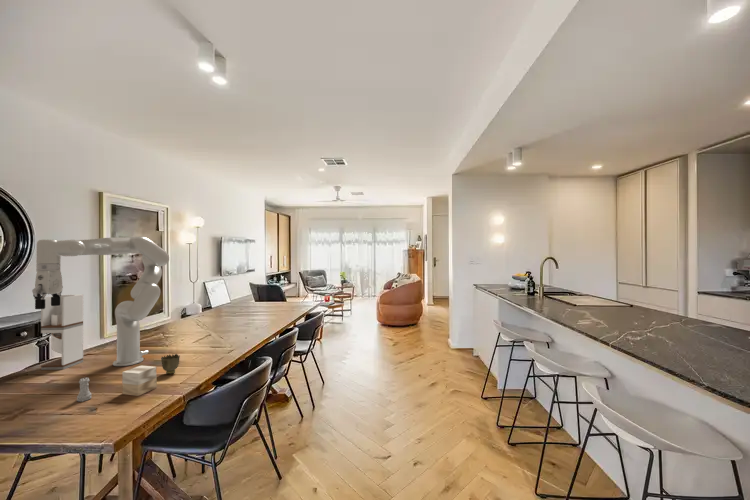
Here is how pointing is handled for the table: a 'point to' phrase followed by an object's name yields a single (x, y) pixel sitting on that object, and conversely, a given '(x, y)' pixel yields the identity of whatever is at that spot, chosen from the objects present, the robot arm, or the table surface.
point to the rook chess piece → (84, 390)
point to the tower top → (139, 375)
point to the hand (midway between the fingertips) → (48, 307)
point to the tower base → (139, 388)
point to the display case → (64, 330)
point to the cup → (170, 363)
